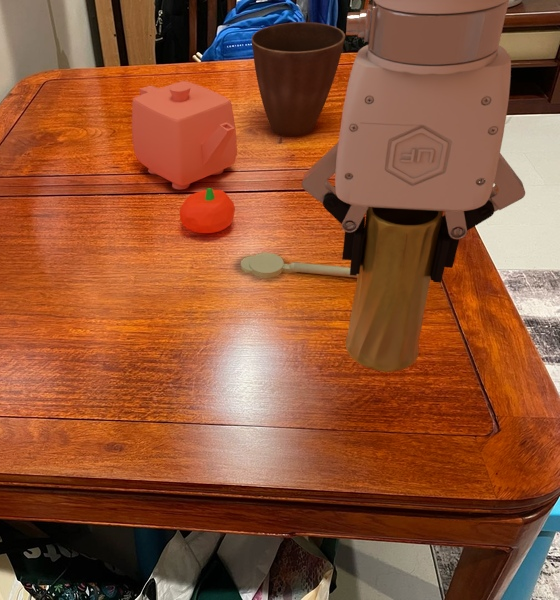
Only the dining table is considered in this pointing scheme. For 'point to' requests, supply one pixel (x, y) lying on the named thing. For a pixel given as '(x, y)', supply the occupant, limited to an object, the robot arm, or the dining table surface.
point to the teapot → (183, 132)
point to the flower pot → (296, 72)
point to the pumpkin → (207, 211)
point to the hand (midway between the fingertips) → (394, 266)
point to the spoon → (287, 267)
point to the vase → (392, 287)
